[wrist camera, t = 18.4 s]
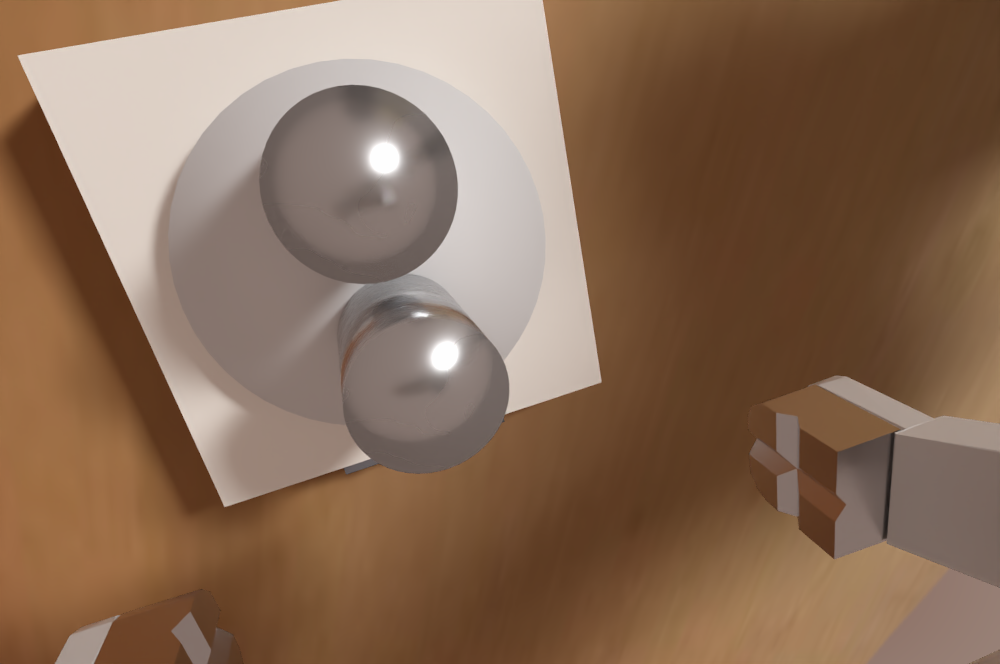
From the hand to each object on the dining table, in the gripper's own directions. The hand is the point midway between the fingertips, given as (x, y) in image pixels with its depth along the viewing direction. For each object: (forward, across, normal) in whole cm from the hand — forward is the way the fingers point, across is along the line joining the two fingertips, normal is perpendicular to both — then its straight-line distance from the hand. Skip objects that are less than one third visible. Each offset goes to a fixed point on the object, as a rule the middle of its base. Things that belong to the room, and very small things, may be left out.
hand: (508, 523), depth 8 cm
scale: (+15, +1, -2) cm, 15 cm away
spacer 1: (+11, +1, -4) cm, 12 cm away
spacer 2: (+11, +1, +1) cm, 11 cm away
